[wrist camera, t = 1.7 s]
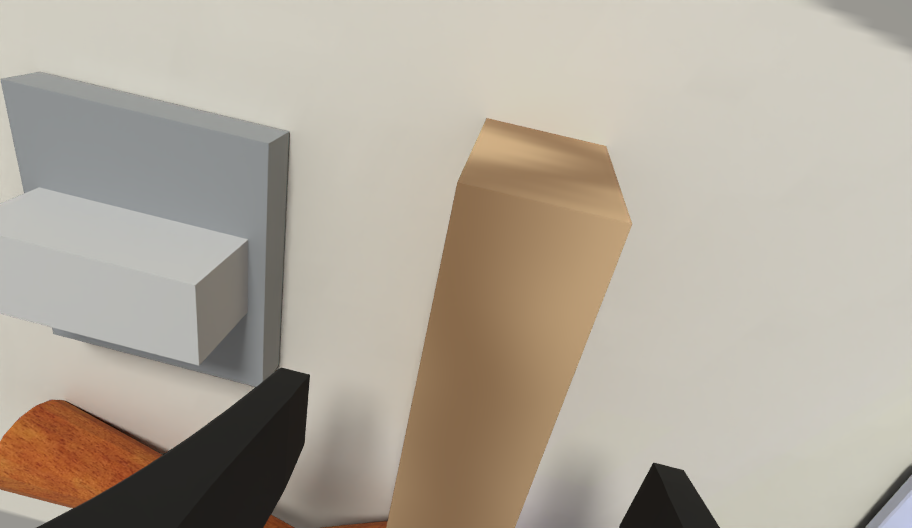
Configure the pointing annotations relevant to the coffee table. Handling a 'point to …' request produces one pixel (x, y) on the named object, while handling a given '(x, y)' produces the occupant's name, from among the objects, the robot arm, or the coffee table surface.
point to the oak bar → (507, 323)
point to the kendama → (77, 458)
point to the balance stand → (145, 226)
